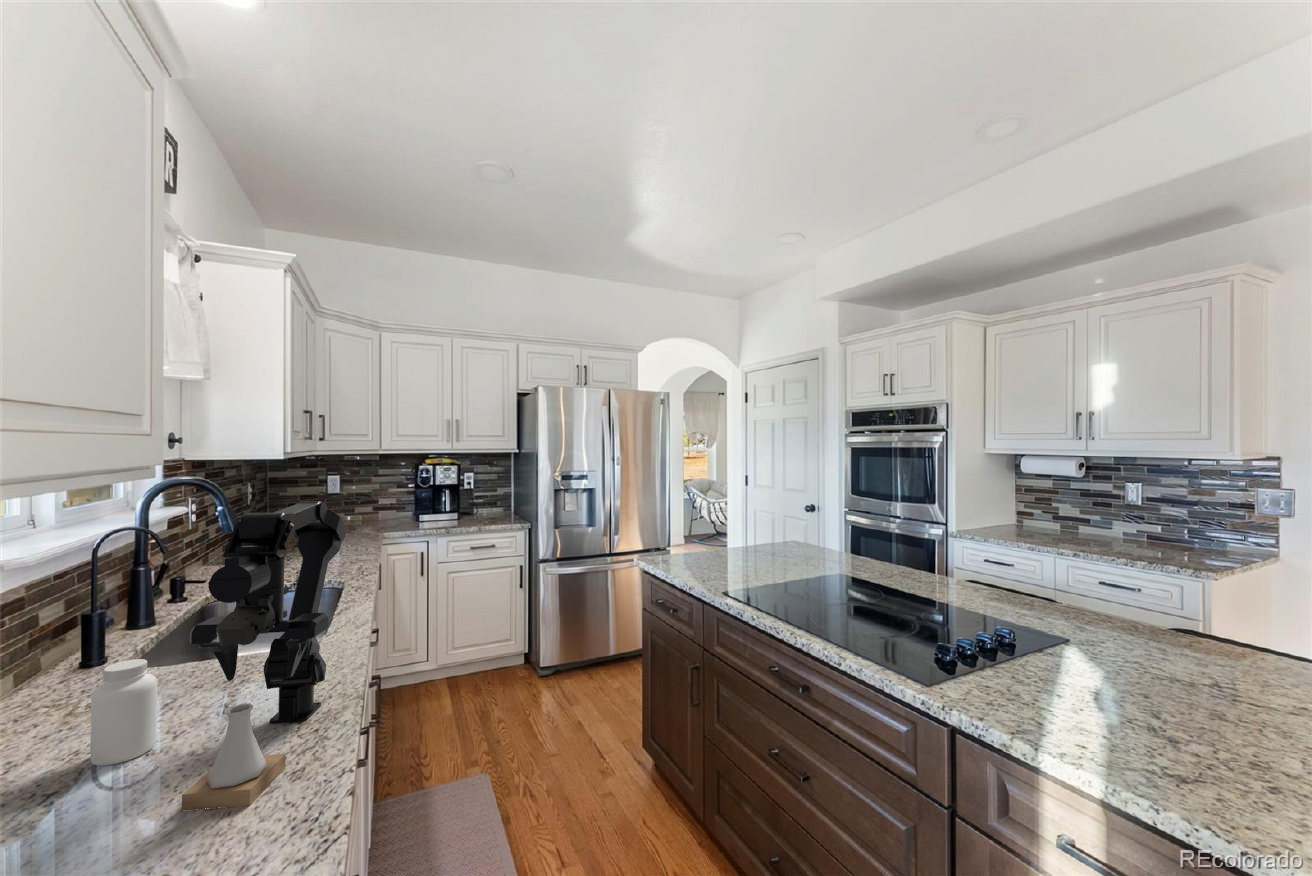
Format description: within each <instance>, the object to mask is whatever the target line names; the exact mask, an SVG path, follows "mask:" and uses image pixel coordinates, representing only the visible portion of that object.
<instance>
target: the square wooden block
mask: <svg viewBox="0 0 1312 876" xmlns="http://www.w3.org/2000/svg"><path fill="white" fill-rule="evenodd" d="M263 757H264V759H265V761H266V764H267V766H266V767H265V768H264V770H263V771H262V772H261V773H260V775H259V776H257V777H255V778H252V779H250V780H247V781H245V782H242V783H240V784H237V785H234V786H227V787H219V788H211V787H210V785H209V784H208V782H207V778H208V776H209V774H210V771H211V769H210V770H209V771H207V773H205V774H204V775H203V776H202V777H201V778H200V779H199V780H197V781H196V782H195V783H194V784H193V785H191V786H190V787H189V788H188V789H187V790H186V791H185V792H183V793H182V794H181V812H184V811H183V810H192V811H200V810H199V809H205V808H206V809H205V810H208V809H207V808H218V807H230V808H239V807H251V806H252V804H253V803H254V802H255V801H257V799H259V797H260V796H261V795H262V794H263V793H264V792H265V791H266V790H267V789H268V787H269V786H271V784H272V783H273V782H274V781H275V780H276V779H277V778H278V777H279V776H280V774H282V773H283V771H284V770H286V753H278V754H277V753H276V754H263ZM196 809H198V810H196ZM218 809H219V808H218Z"/></svg>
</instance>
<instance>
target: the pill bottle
mask: <svg viewBox="0 0 1312 876" xmlns="http://www.w3.org/2000/svg"><path fill="white" fill-rule="evenodd" d="M102 679H103V680H102V682H103V683H102V684H100V685H99V686H97V687H96V688H95V689H94V690H93V692H92V694H91V698H90V745H89V746H90V750H89V752H90V754H89V755H90V762H91V764H93V765H95V766H99V767H100V766H110V765H116V764H119V763H121V764H122V763H123V762H124V763H125V762H126V761H127V762H128V761H130V760H132V759H135V758H138V757H139V756H142V755H144V754H145V753H148V752H149V751H150V750H152V749H153V748H154V747H155V745H156V743H157V740H158V739H157V738H158V735H157V734H158V731H157V729H158V680H157V678H156V677H155V675H153V674H150V673H148V660H147V659H144V658H138V659H135V658H134V659H129V660H124V661H119V662H117V663H114V664H110V665H108V666H106V667H105V668H104V669H103V670H102Z"/></svg>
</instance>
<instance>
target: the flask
mask: <svg viewBox="0 0 1312 876" xmlns="http://www.w3.org/2000/svg"><path fill="white" fill-rule="evenodd" d="M253 709H254V705H253V704H252V702H251V703H250V702H249V703H239V704H237V705H233V706H230V707H229V708H228V709H227V710H226V715H227V717H228V722H227V724H228V725H227V729H226V731H225V736H224V738H223V742H222V743H221V747H220V749H219V752H218V753H217V756H216V758H215V760H214V763H213V765H212V767H211V769H210V770H211V771H210V770H209V771H210V774H209V776H208V778H207V782H208V784H209V785H210V787H211V788H219V787H227V786H234V785H237V784H240V783H242V782H245V781H247V780H250V779H252V778H255V777H257V776H259V775H260V773H261V772H262V771H263V770H264V768H265V767H266V766H267V764H266V761H265V759H264V757H263V755H264V754H263V752H262V750H261V749H260V746H259V744H258V741H257V739H256V737H255V734H254V732H253V731H254V730H253V726H252V721H251V712H252V710H253Z"/></svg>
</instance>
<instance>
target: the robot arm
mask: <svg viewBox="0 0 1312 876" xmlns="http://www.w3.org/2000/svg"><path fill="white" fill-rule="evenodd" d="M346 531H347V529H346V525H345V524H344V521H343V519H342V517H341V516H340V515H339V514H337V513H335V512H334V511H332V510H331V509H329V508H328V505H327V504H326V502H323V501H321V500H320V501H319V500H317V501H313V500H311V501H310V500H309V501H305V500H304V501H299V502H296V503H295V504H294V505H290V506H288V507H284V508H282V509H279V510H277V511H274V512H246V513H244V514H242V516H240V517H239V519H238V520H237V521H236V523H235V525H234V527H233V529H232V532H231V534H230V537H229V539H228V542H227V544H226V547H225V550H224V552H223V554H222V556H223V558H224V566H222V567H220V568H218V569H217V570H216V571H215V572H213V574H212V575H211V577H210V579H209V581H208V585H207V586H208V590H209V593H210V595H211V596H212V598H214V599H215V600H216V601H218V602H221V603H223V604H224V603H225V604H232V603H235V607H234V609H233V610H232V611H231V612H229V613H228V614H227V615H226V616H225V615H224V616H212V617H211V618H208V619H206V620H203V621H202V622H199V623H197V624H195V625H194V626H193V627H192V629H191V631H190V632H189V643H190V644H191V645H197V644H198V647H199V648H200V649H207V650H208V651H210V652H212V653H213V655H214V656H215V658H216V659H217V662H218V663H219V665H220V667H221V670H222V672H223V673H224V676H225V678H226V681H227V682H230V681H232V680H234V678H235V675H236V671H237V665H238V654H239V653H238V651H239V645H241V646H247V645H250V644H252V643H254V642H255V641H256V640H257V638H258V636H259V635H261V634H265V635H266V634H269V633H282V634H281V635H280V636H279V637H278V638H274V639H273V640H272V642H271V644H270V648H269V653H268V656H267V658H266V660H265V662H264V666H263V677H264V680H265V681H264V682H265V685H266V686H265V687H266V690H272V689H278V711H277V713H275V715H273V716H272V717H271V718H270V719H269V724H273V723H274V724H275V723H289V722H290V723H291V722H304V721H306V720H308V719H309V718H310V717H311V716H312V715H313V714H314V713H315V712H316V711H317V709H319V708H321V706H322V702H319V701H318V702H314V700H315V697H314V695H315V686H317V685H318V684H319V683H322V682H324V681H325V679H326V673H327V663H326V662H325V660H324V659H323V657H322V655H321V653H320V650H321V646H320V642H319V641H318V639H317V637H318V636H319V635H320V634H322V633H323V632H324V631H326V630H327V629H328V628H329V617H328V615H327V614H326V612H319V608H320V604H321V599H322V594H323V589H324V585H325V580H326V574H327V572H328V565H329V562H330V561H331V560H332V559H333V558H334V557H335V556H336V555H337V554H338V553H339V552H340V549H341V547H342V542H343V541H344V540H345V539H346V533H347V532H346ZM294 538H295V539H296V540H297V544H296V547H297V550H298V552H299V553H300V555H301V557H302V562H301V566H300V570H299V574H298V577H297V583H296V586H295V590H294V594H293V599H292V603H291V608H290V612H289V616H288V610H284V602H285V601H284V600H285V599H284V595H286V594H288V592H289V591H288V586H287V587H285V555H288V553H289V550H288V548H289V545H290V542H291V541H292V539H294ZM287 617H288V620H287V619H285V620H284V618H287Z"/></svg>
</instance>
